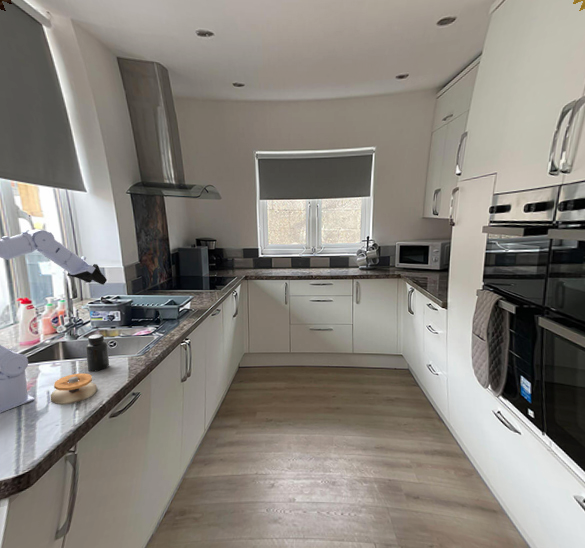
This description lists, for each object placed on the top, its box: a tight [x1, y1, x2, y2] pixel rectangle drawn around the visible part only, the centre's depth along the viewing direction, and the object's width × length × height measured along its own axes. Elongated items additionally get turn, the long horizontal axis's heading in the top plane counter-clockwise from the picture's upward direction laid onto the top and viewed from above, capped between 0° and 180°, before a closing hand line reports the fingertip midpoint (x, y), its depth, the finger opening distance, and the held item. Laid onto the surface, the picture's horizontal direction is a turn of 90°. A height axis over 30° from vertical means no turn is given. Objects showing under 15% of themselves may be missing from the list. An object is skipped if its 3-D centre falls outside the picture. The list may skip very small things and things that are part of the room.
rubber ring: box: [53, 373, 93, 391], centre depth 106 cm, size 10×10×1 cm
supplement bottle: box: [85, 333, 110, 372], centre depth 124 cm, size 7×7×12 cm
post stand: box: [50, 377, 98, 405], centre depth 106 cm, size 12×12×5 cm
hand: (97, 281), depth 120 cm, fingers open, 7 cm apart
